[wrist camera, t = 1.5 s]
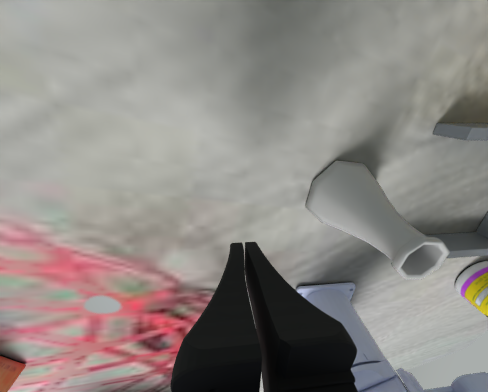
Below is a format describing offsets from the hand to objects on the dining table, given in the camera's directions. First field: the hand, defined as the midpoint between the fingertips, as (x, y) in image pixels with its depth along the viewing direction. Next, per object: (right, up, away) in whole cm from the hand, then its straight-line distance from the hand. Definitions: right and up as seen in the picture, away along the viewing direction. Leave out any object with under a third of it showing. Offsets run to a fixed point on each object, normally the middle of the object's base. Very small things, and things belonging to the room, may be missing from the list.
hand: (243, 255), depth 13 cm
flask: (+10, +4, +9) cm, 14 cm away
